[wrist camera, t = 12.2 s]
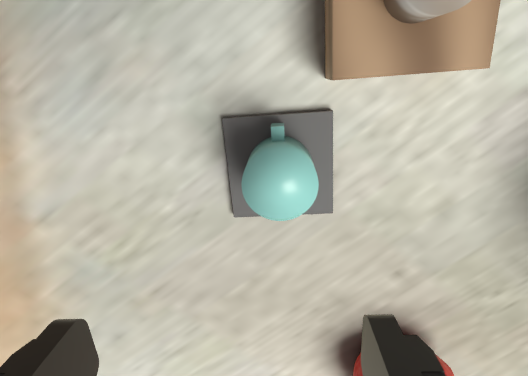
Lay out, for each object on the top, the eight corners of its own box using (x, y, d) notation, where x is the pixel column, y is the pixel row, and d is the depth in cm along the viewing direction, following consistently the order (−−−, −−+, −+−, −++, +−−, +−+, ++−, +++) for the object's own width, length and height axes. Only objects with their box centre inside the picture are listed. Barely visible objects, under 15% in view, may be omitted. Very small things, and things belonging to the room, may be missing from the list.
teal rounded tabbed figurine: (243, 124, 26) (236, 134, 22) (312, 120, 26) (318, 130, 21) (251, 210, 29) (246, 234, 25) (313, 208, 28) (319, 232, 24)
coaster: (234, 214, 30) (233, 217, 29) (223, 117, 27) (221, 118, 26) (331, 210, 29) (332, 213, 28) (331, 110, 26) (332, 111, 25)
